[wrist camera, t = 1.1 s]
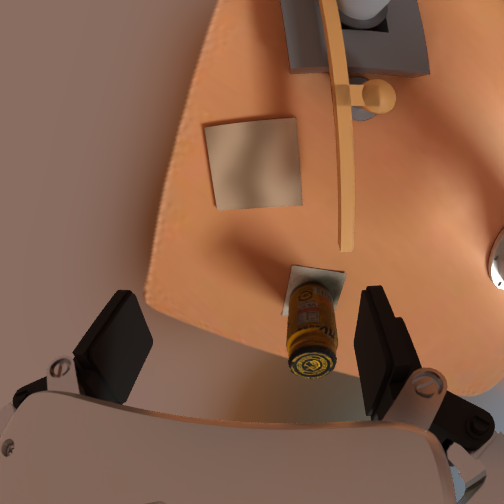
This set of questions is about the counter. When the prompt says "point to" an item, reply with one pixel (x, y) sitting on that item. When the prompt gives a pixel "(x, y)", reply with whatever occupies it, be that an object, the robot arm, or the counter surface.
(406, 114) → the counter surface
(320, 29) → the socket block
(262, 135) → the pad
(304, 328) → the condiment
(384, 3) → the plug
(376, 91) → the knobbed wooden stick
